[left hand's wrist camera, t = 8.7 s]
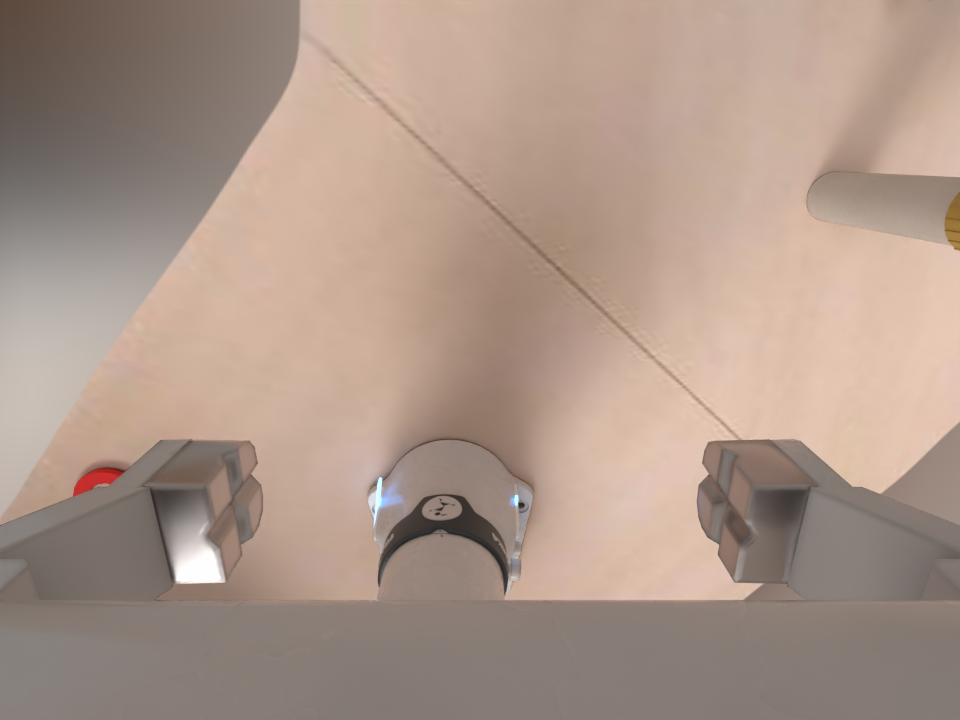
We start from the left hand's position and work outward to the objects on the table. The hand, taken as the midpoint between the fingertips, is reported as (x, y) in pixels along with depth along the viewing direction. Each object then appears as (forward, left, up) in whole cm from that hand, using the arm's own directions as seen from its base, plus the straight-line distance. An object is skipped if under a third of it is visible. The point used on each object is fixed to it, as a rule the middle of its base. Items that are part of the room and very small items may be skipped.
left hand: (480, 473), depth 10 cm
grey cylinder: (+1, -33, -46) cm, 56 cm away
